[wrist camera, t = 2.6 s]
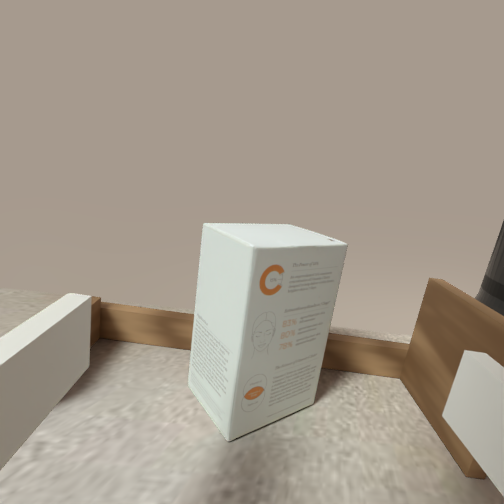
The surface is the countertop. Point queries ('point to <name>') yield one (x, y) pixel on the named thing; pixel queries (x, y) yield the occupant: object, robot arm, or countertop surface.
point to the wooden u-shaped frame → (360, 349)
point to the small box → (261, 321)
